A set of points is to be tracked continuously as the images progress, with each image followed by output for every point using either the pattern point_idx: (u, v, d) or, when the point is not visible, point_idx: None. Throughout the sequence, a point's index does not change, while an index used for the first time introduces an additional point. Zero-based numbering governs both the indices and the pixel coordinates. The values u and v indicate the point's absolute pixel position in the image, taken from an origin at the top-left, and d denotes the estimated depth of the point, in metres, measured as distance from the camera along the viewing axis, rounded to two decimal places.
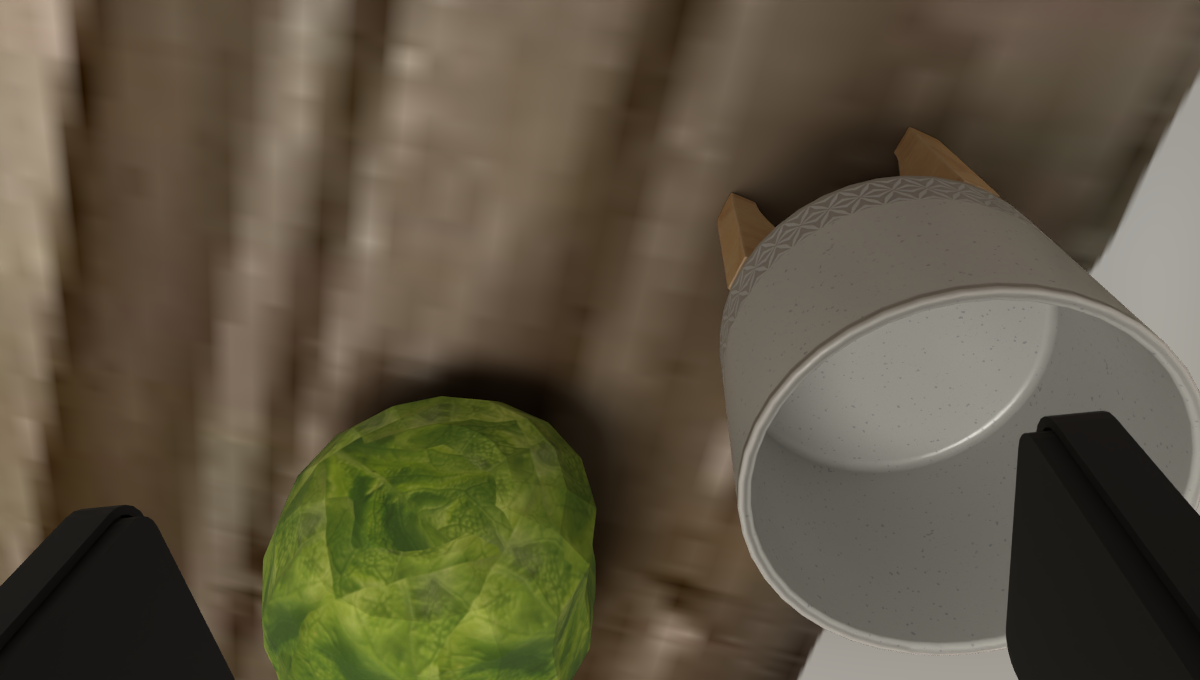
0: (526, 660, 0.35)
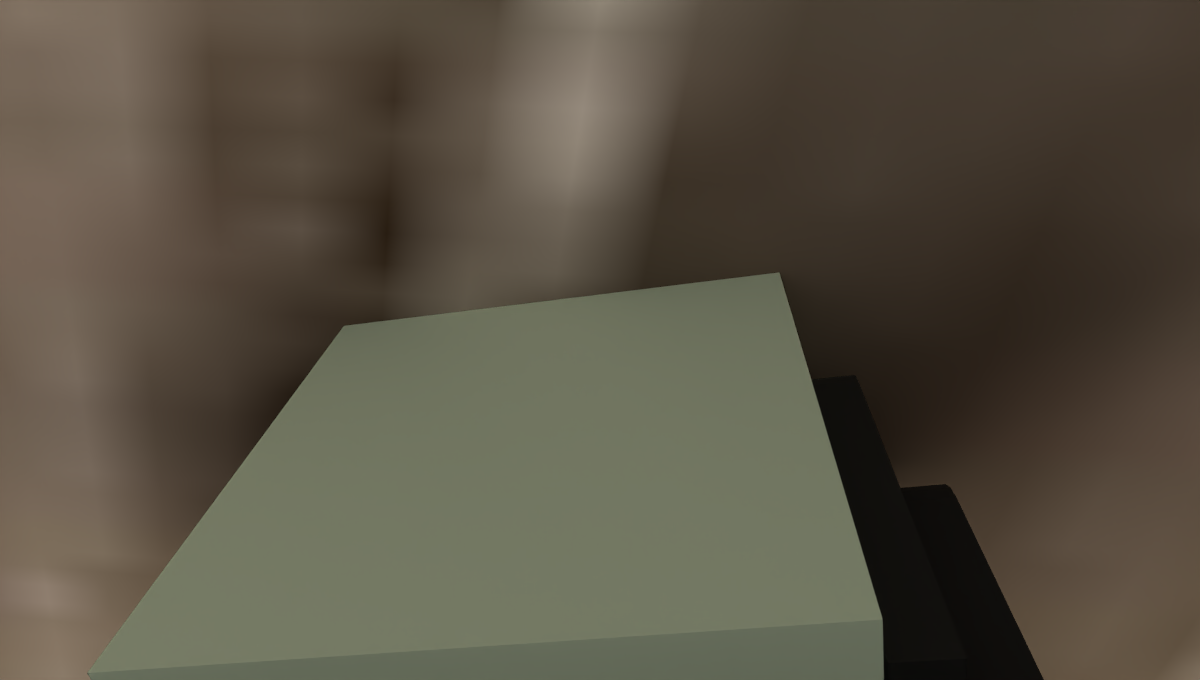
0: None
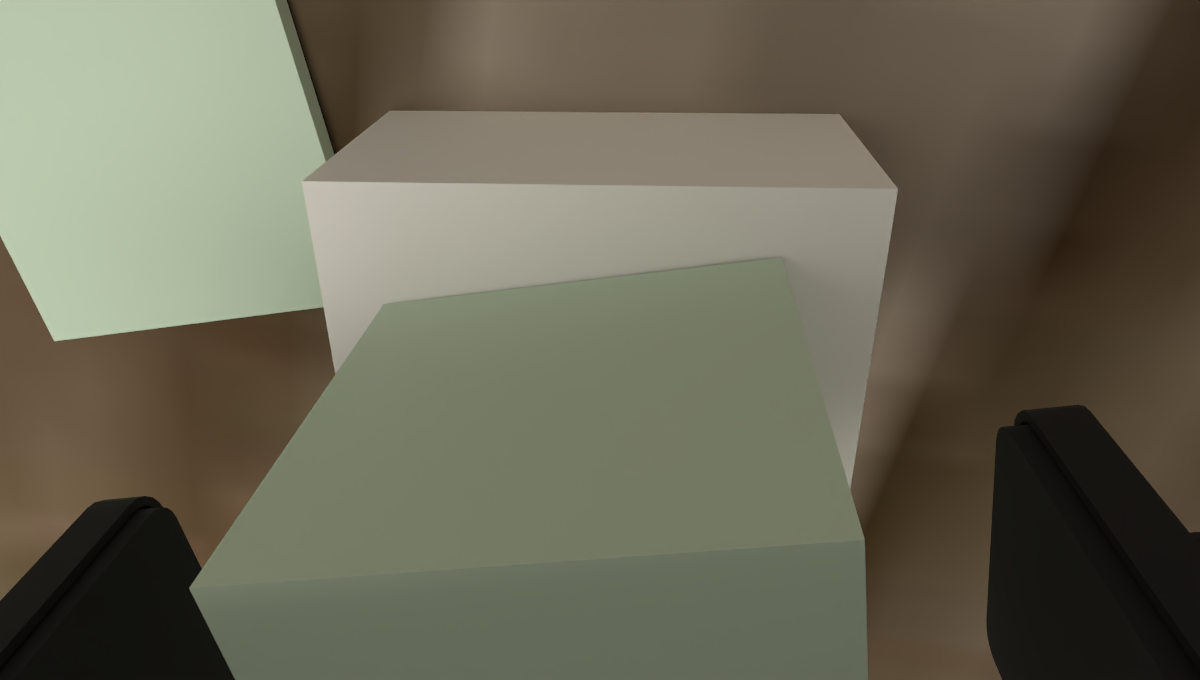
0: None
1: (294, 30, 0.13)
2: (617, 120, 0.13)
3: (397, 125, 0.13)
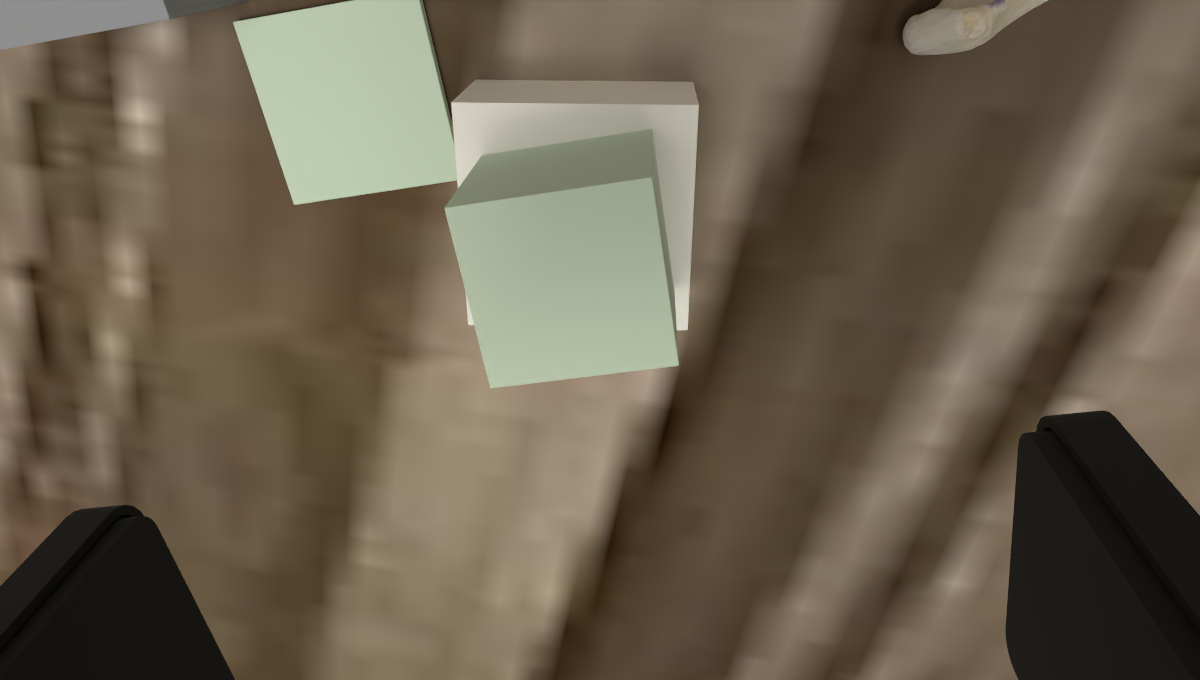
0: None
1: (431, 41, 0.27)
2: (586, 83, 0.27)
3: (482, 85, 0.27)
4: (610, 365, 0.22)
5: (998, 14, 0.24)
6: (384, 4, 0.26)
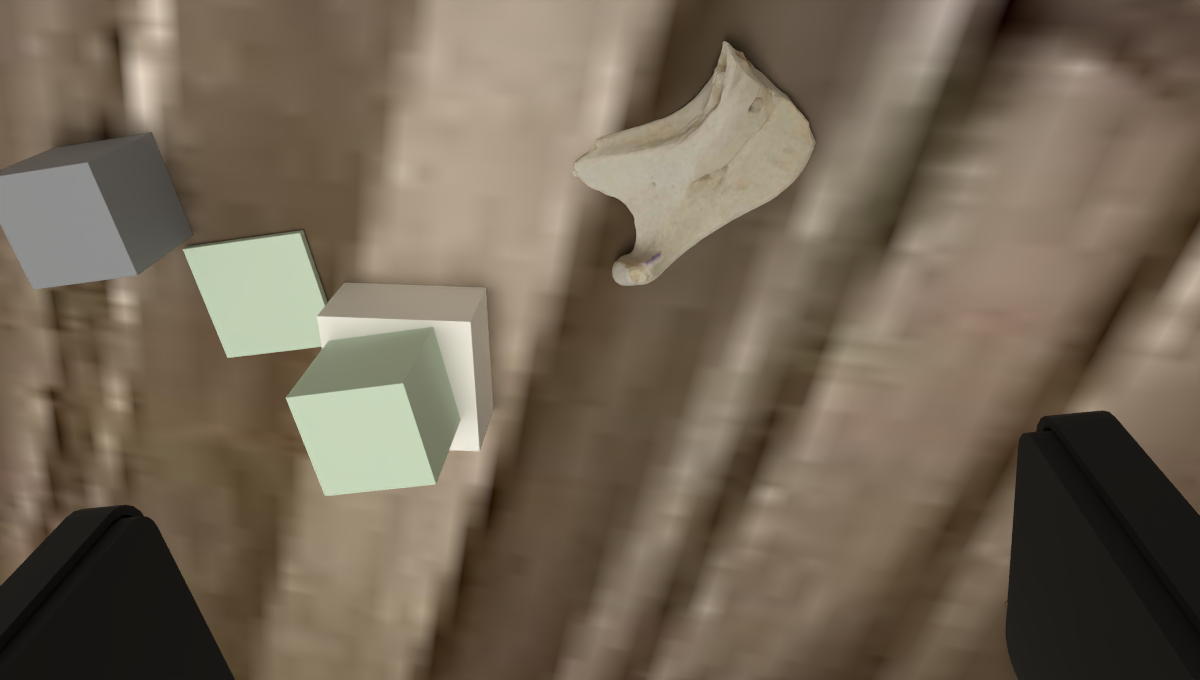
0: None
1: (313, 261, 0.41)
2: (414, 289, 0.41)
3: (345, 291, 0.41)
4: (395, 483, 0.36)
5: (656, 265, 0.38)
6: (280, 241, 0.41)
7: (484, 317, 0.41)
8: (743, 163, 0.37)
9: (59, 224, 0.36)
